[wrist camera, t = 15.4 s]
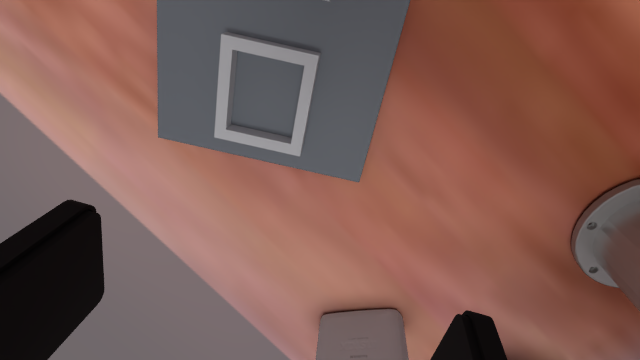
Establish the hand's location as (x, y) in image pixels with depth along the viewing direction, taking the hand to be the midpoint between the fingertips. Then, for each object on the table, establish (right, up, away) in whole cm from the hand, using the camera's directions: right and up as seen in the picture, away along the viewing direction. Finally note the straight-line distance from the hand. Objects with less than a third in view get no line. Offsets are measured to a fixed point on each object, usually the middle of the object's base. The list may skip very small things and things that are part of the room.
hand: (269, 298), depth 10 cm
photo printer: (+6, -14, +36) cm, 40 cm away
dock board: (-2, +17, +21) cm, 27 cm away
